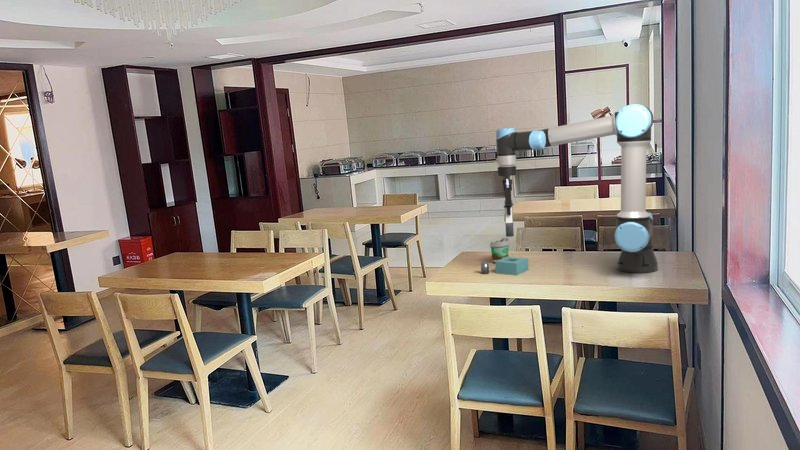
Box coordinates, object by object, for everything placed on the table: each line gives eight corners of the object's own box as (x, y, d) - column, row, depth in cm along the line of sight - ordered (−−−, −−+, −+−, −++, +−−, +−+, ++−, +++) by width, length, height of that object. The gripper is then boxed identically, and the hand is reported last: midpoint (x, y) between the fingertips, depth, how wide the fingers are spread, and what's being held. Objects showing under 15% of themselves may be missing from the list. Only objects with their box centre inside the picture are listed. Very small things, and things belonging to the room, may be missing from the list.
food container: (503, 265, 249) (502, 243, 248) (491, 264, 253) (489, 242, 252) (515, 259, 259) (514, 238, 258) (503, 258, 263) (502, 237, 261)
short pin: (490, 272, 237) (489, 262, 237) (486, 274, 235) (485, 264, 234) (484, 272, 239) (483, 261, 239) (480, 273, 237) (479, 263, 236)
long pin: (515, 235, 234) (513, 200, 232) (511, 236, 232) (509, 201, 230) (508, 235, 237) (506, 200, 234) (504, 236, 234) (502, 201, 232)
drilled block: (528, 269, 237) (528, 258, 236) (516, 275, 230) (516, 263, 229) (507, 267, 243) (507, 256, 243) (495, 273, 236) (495, 261, 235)
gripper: (497, 165, 238) (500, 219, 242) (497, 167, 223) (499, 225, 226) (515, 164, 237) (518, 218, 241) (516, 166, 221) (518, 224, 225)
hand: (509, 221), depth 233 cm, fingers closed on long pin, 3 cm apart
